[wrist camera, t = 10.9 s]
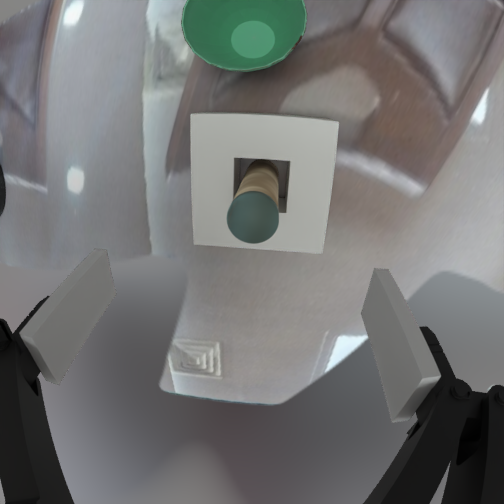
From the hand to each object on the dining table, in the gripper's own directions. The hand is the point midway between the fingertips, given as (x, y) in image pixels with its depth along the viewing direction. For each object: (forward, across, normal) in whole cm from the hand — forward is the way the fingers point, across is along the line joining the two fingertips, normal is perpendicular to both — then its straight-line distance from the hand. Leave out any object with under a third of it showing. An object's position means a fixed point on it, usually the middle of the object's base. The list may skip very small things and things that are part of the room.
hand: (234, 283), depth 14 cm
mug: (+22, -1, +18) cm, 29 cm away
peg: (+22, 0, 0) cm, 22 cm away
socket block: (+22, +1, 0) cm, 22 cm away
